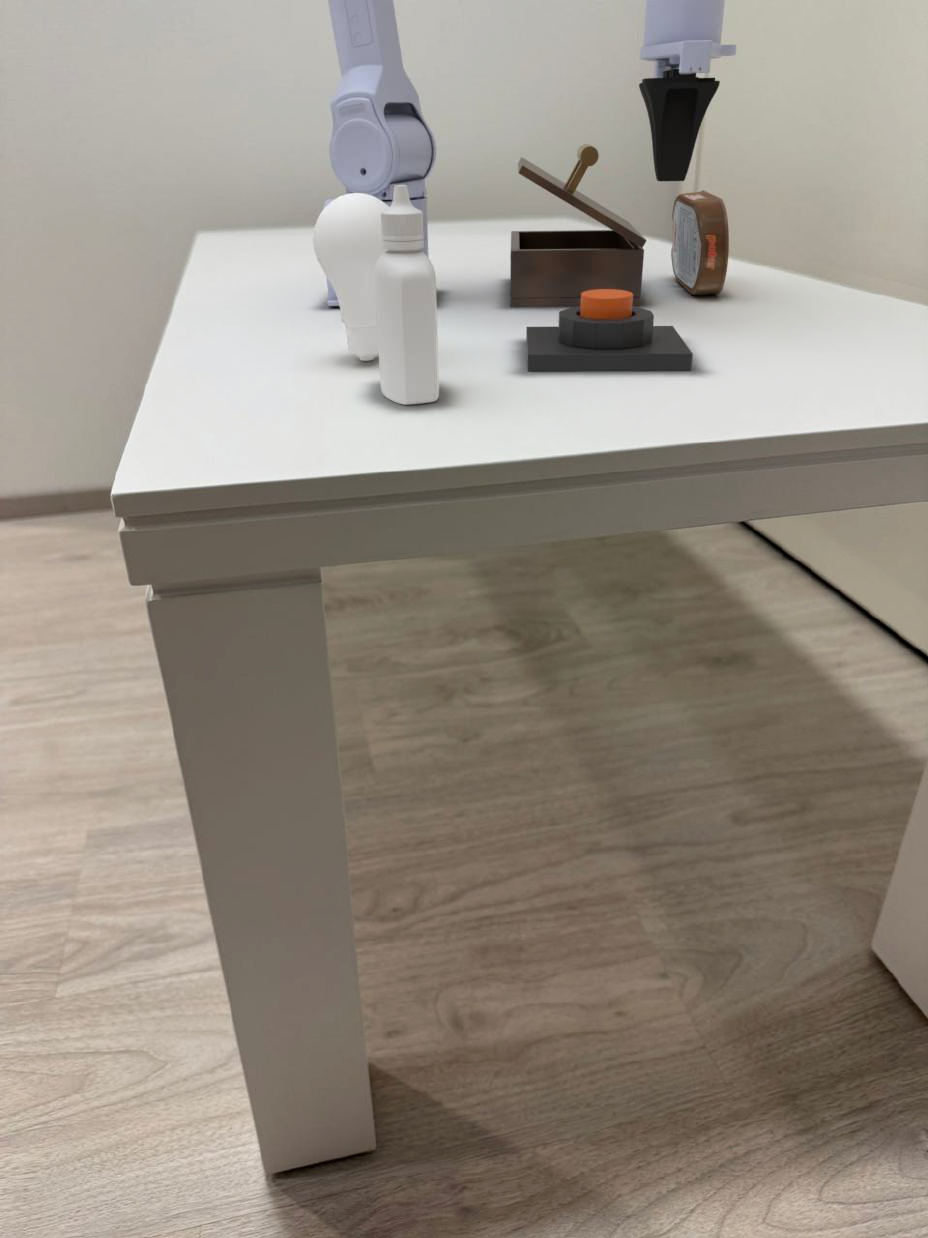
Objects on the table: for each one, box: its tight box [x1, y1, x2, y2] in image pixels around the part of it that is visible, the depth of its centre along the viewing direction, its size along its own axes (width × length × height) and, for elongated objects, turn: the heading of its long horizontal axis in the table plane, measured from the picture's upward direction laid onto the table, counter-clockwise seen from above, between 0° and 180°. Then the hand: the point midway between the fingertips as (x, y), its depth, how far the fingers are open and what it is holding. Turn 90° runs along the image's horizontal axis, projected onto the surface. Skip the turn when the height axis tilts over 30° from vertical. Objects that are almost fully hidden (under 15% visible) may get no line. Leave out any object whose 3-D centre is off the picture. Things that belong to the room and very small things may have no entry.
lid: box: [517, 143, 648, 249], centre depth 84 cm, size 12×15×5 cm
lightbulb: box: [312, 193, 389, 362], centre depth 64 cm, size 6×6×11 cm
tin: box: [670, 189, 730, 296], centre depth 88 cm, size 15×3×8 cm, turn 179°
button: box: [580, 289, 633, 319], centre depth 65 cm, size 4×4×2 cm
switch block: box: [525, 306, 694, 373], centre depth 66 cm, size 11×9×3 cm
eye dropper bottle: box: [374, 185, 440, 406], centre depth 56 cm, size 4×6×12 cm
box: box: [509, 229, 645, 308], centre depth 88 cm, size 12×15×5 cm
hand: (670, 180), depth 74 cm, fingers closed
